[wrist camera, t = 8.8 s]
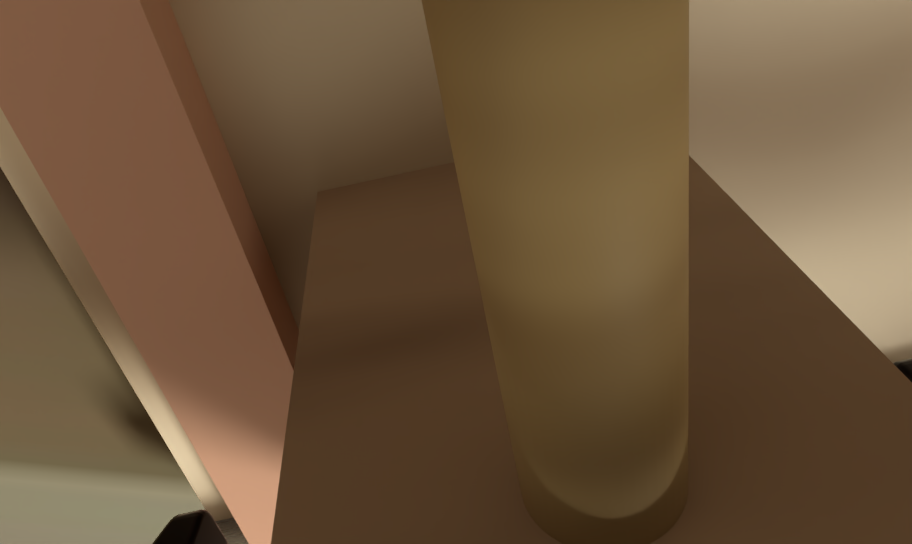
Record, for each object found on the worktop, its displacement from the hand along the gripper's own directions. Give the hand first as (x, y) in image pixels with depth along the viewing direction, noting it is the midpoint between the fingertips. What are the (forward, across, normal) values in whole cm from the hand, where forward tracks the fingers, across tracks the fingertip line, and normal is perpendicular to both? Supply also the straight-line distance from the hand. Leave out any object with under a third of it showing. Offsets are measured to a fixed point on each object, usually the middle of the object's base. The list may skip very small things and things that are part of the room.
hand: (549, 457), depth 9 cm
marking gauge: (+3, 0, -2) cm, 4 cm away
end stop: (+3, +4, -3) cm, 6 cm away
